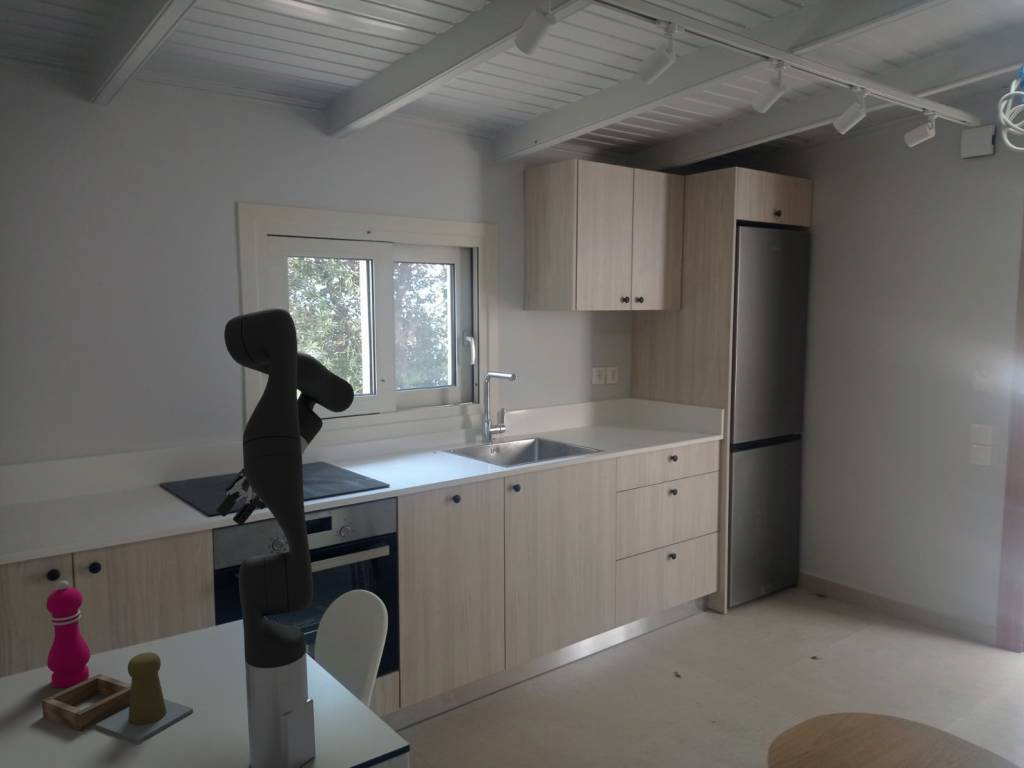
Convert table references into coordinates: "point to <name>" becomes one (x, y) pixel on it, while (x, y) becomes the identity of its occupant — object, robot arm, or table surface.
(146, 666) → the cork
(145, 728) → the rubber mat
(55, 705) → the walnut collar
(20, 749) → the table surface
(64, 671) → the pepper mill
